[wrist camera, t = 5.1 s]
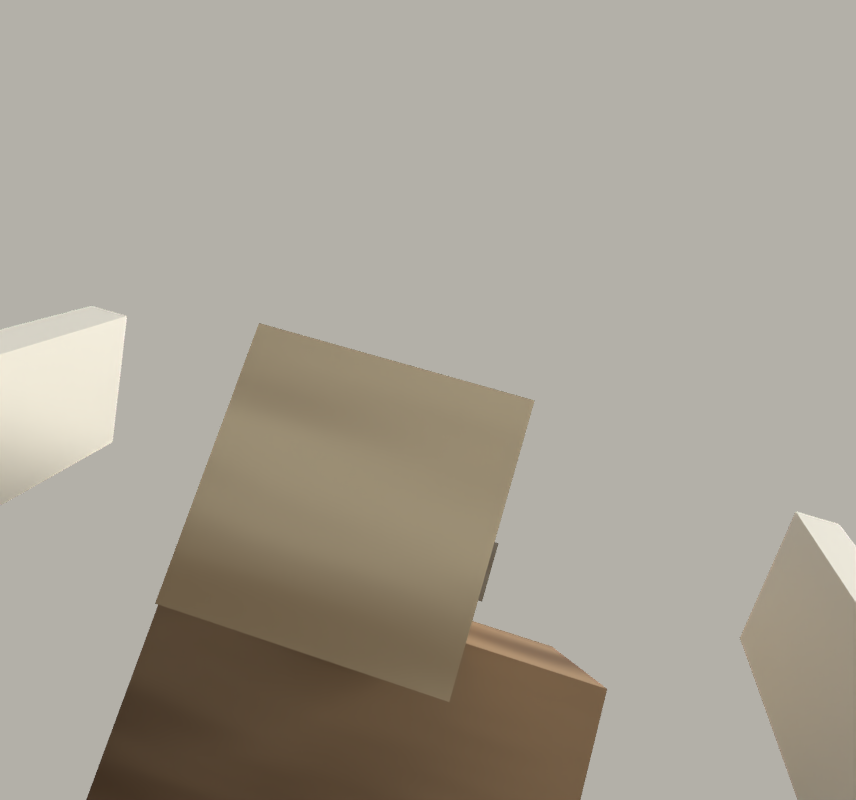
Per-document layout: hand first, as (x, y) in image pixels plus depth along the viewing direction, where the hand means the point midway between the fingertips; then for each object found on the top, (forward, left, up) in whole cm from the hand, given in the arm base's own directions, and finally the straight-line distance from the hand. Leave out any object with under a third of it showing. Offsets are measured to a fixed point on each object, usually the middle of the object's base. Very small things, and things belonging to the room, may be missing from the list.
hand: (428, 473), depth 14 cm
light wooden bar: (-1, +5, -3) cm, 6 cm away
